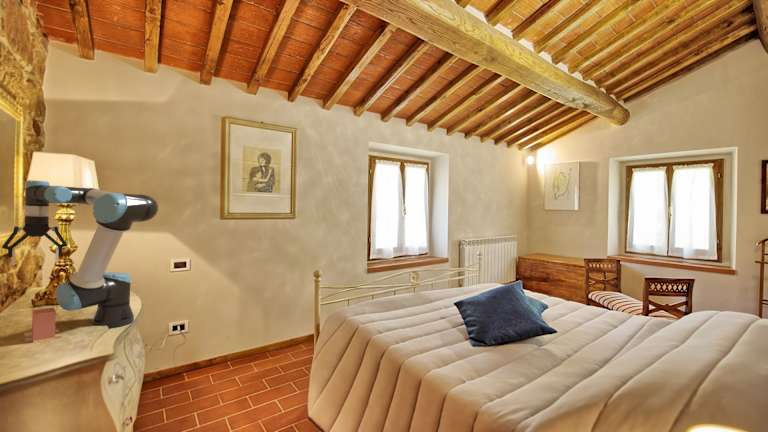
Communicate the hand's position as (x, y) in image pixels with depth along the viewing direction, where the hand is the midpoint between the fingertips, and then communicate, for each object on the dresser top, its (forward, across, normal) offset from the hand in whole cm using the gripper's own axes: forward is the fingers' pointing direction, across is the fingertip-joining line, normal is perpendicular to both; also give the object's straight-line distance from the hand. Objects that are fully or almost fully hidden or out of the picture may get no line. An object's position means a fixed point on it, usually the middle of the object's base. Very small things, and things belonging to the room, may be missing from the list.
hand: (35, 263), depth 153 cm
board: (+27, -1, +24) cm, 36 cm away
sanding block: (+25, -1, +28) cm, 38 cm away
